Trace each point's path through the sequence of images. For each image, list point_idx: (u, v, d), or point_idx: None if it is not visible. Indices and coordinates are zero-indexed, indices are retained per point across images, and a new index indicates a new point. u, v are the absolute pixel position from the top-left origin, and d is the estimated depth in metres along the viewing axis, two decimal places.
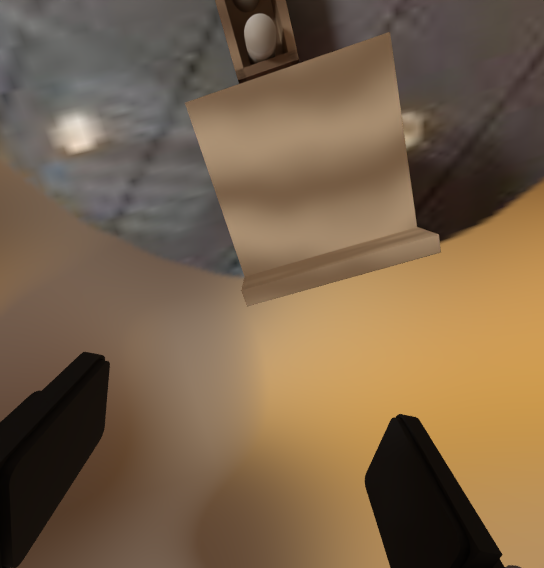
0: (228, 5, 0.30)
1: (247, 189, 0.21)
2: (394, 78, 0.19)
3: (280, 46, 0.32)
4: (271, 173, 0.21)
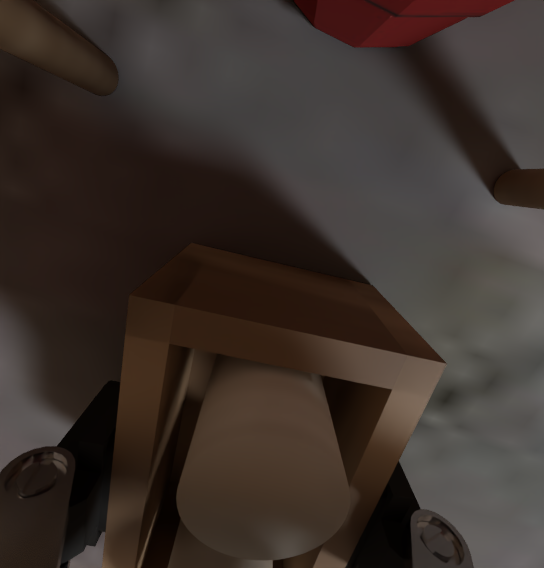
0: None
1: None
2: None
3: None
4: None
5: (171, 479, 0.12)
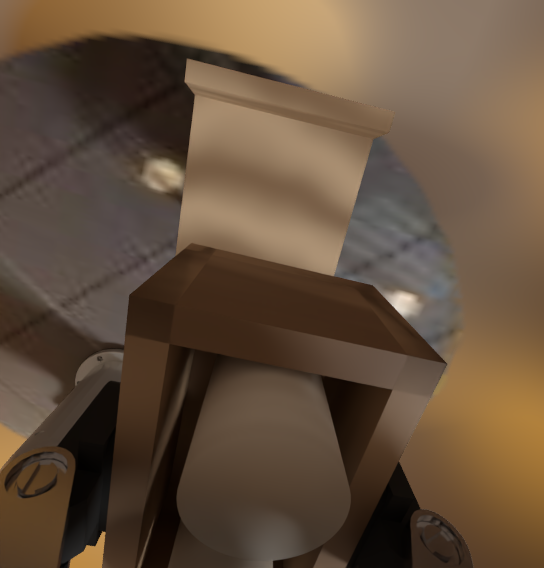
0: None
1: (323, 213, 0.24)
2: (179, 231, 0.24)
3: None
4: (298, 215, 0.24)
5: (171, 479, 0.12)
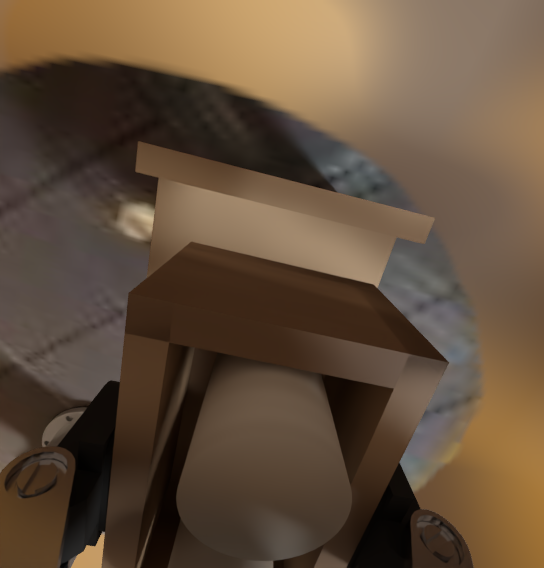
0: None
1: None
2: None
3: None
4: None
5: (171, 479, 0.12)
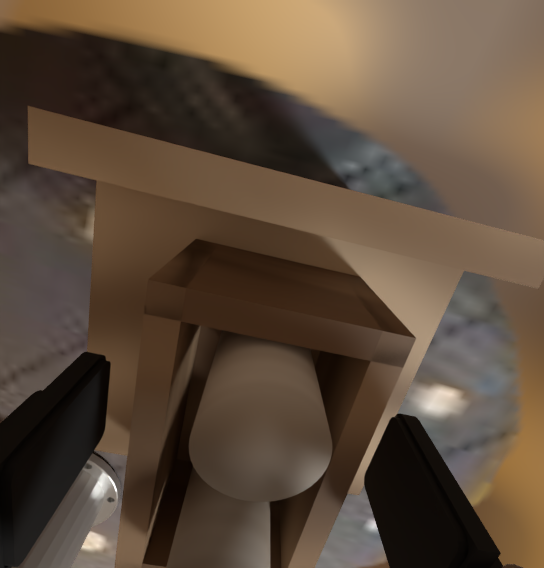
0: None
1: None
2: None
3: None
4: None
5: (177, 456, 0.13)
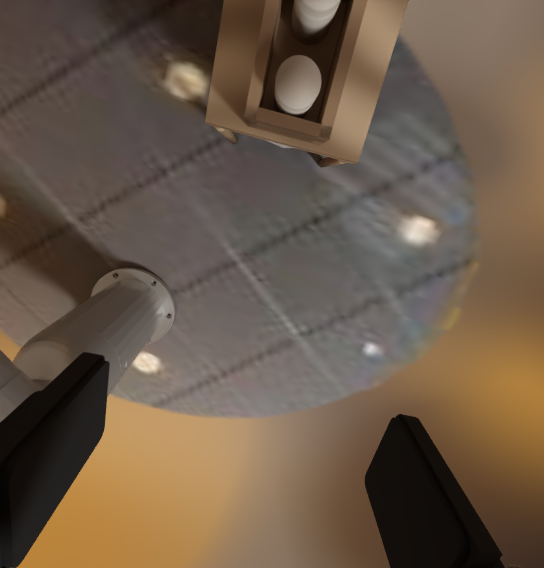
0: (317, 103, 0.24)
1: (357, 74, 0.24)
2: (211, 88, 0.24)
3: (282, 16, 0.22)
4: None
5: None
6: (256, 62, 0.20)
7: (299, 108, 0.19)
